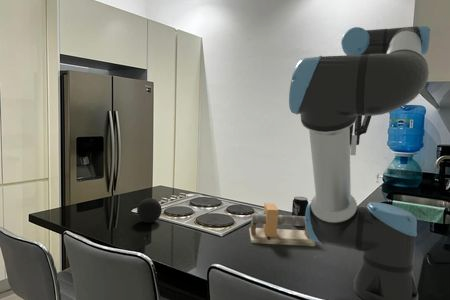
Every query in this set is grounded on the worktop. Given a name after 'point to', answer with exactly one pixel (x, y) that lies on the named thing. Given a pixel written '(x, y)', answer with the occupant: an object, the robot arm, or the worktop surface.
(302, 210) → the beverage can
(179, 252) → the worktop surface
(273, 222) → the collar
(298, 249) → the worktop surface
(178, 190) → the worktop surface
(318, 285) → the worktop surface
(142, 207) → the speaker
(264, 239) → the pipe board
